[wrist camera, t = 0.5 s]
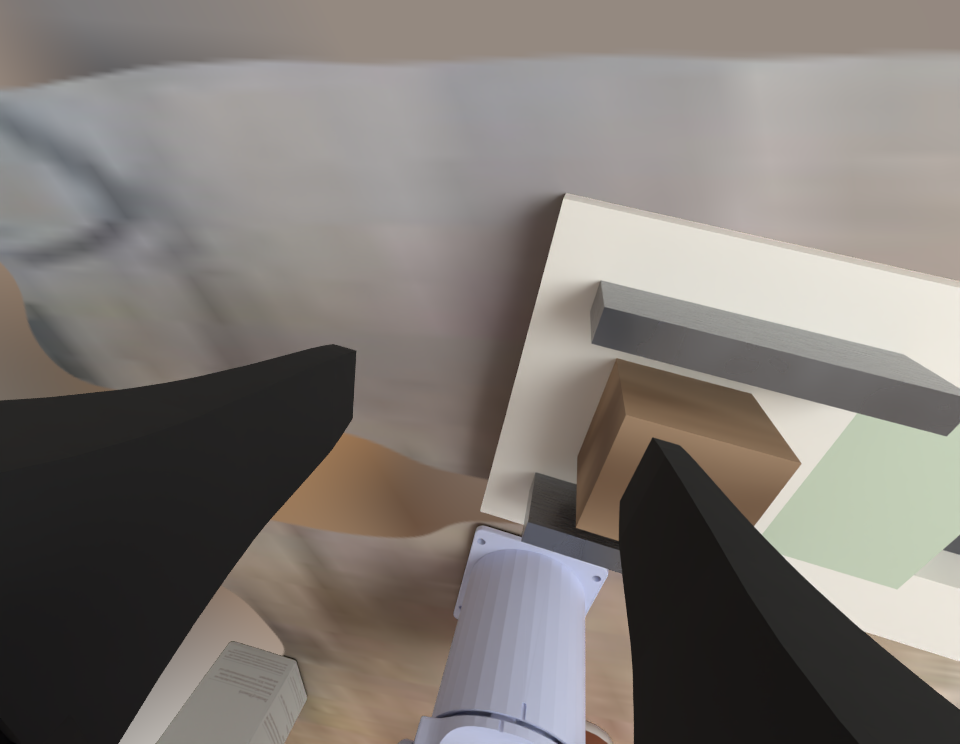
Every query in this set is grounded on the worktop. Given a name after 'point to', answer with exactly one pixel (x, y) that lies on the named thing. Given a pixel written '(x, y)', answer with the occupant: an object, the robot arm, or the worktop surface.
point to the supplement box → (241, 701)
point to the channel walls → (746, 359)
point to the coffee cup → (595, 735)
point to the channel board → (765, 403)
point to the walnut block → (678, 442)
